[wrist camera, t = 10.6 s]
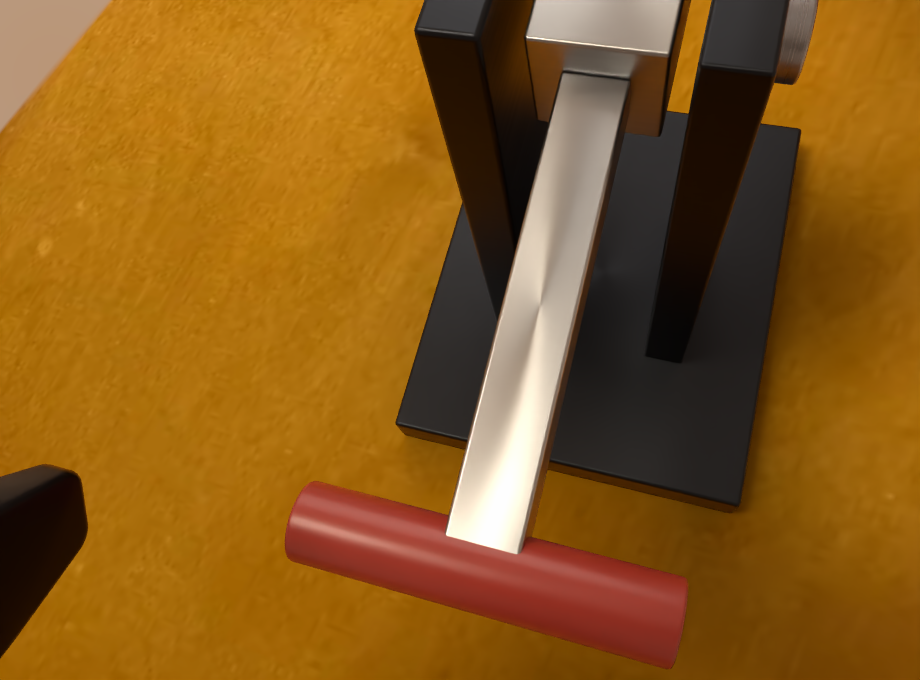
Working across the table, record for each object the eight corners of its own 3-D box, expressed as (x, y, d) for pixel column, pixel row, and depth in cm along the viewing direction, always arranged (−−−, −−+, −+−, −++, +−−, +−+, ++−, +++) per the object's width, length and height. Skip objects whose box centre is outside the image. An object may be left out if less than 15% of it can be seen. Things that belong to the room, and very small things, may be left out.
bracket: (732, 514, 21) (921, 342, 9) (403, 435, 23) (203, 208, 11) (792, 151, 24) (988, -324, 12) (500, 110, 26) (427, -332, 14)
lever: (664, 659, 12) (678, 683, 10) (318, 560, 13) (257, 560, 11) (788, 9, 14) (822, -97, 12) (484, -22, 15) (463, -124, 13)
